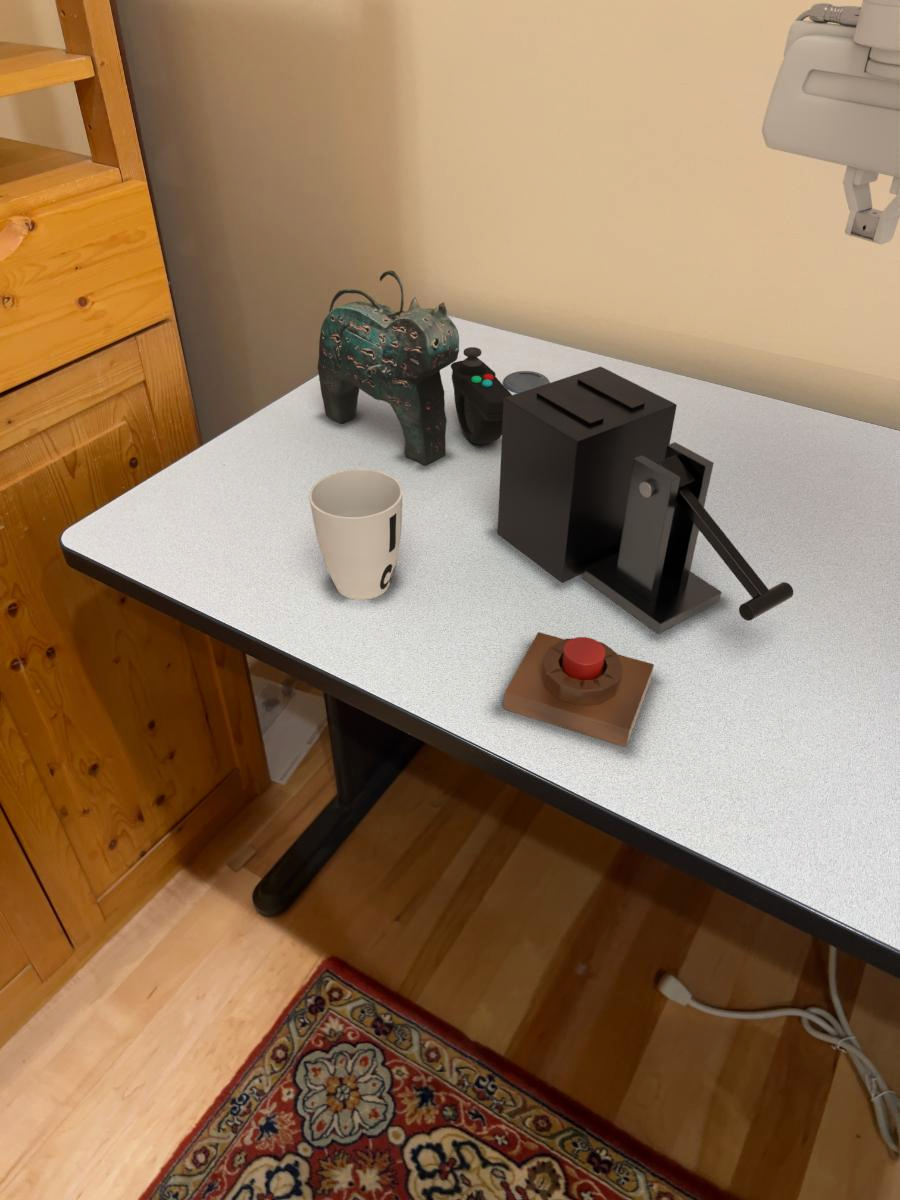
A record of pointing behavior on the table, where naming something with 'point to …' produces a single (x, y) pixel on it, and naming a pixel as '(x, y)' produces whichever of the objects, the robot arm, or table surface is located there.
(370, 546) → the cup
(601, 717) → the control block
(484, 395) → the controller
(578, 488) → the toaster
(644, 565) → the toaster bracket
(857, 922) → the table surface
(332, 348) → the ceramic cat
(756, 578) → the toaster lever
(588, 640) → the button
